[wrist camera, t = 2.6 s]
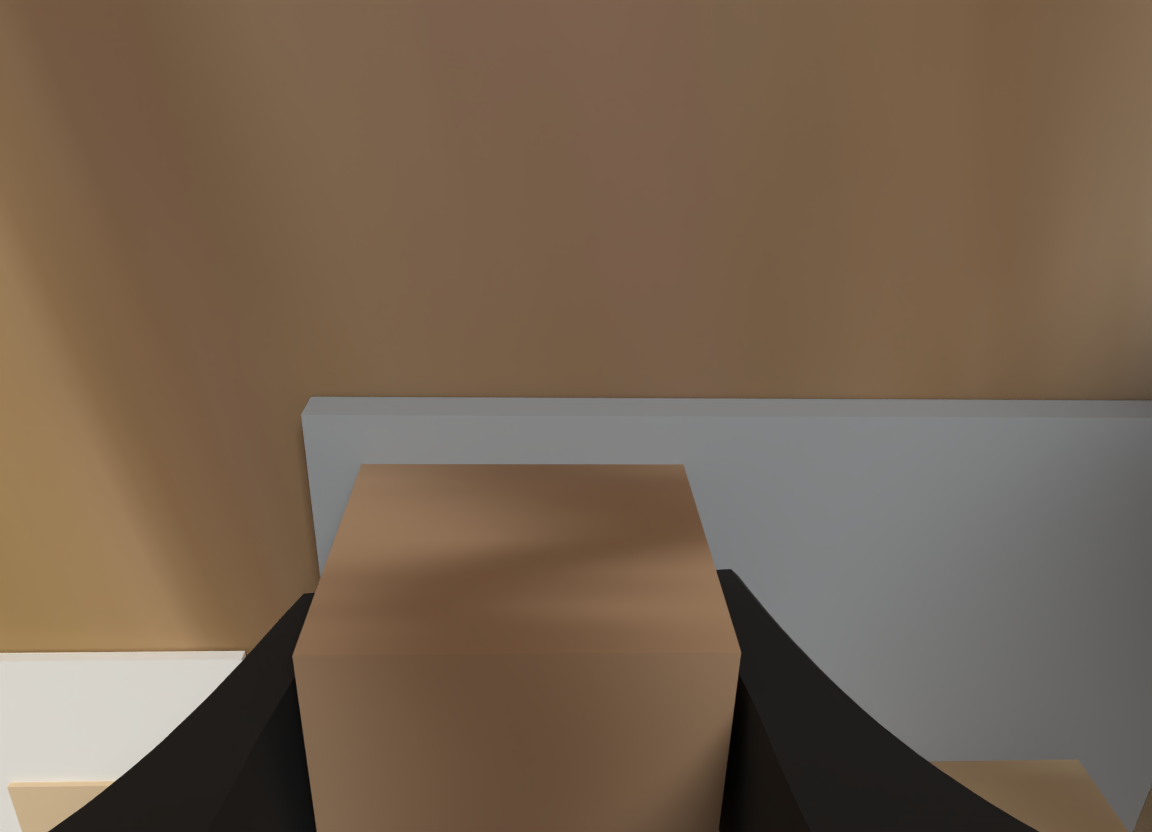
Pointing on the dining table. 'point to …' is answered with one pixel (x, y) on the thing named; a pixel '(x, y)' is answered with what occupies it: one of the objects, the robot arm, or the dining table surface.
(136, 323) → the dining table surface
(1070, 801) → the oak block
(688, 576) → the walnut block
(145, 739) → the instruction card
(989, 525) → the mat
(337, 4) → the dining table surface
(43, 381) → the dining table surface
